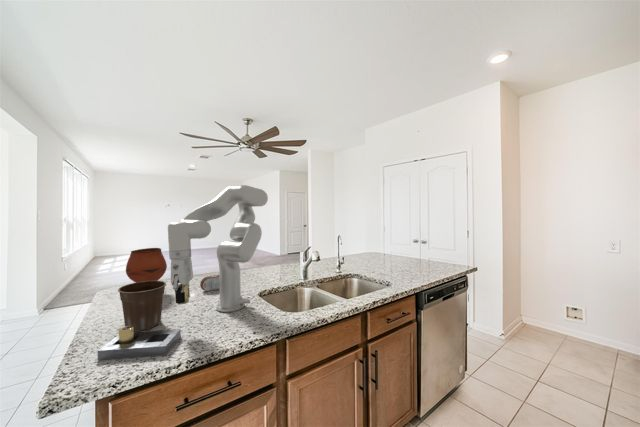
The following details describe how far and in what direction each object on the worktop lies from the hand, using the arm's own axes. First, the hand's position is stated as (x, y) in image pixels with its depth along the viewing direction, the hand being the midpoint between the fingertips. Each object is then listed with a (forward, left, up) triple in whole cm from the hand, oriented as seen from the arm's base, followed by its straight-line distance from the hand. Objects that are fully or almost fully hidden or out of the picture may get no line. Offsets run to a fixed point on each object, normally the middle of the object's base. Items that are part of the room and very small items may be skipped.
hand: (182, 299), depth 103 cm
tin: (+1, -51, -12) cm, 53 cm away
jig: (+8, +13, -12) cm, 19 cm away
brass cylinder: (0, 0, -1) cm, 1 cm away
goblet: (+36, -48, -12) cm, 62 cm away
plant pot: (+17, -6, -12) cm, 22 cm away
